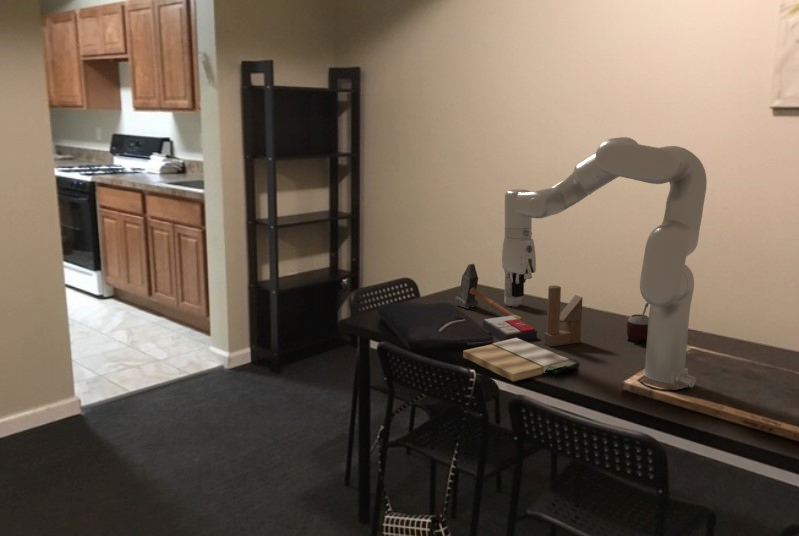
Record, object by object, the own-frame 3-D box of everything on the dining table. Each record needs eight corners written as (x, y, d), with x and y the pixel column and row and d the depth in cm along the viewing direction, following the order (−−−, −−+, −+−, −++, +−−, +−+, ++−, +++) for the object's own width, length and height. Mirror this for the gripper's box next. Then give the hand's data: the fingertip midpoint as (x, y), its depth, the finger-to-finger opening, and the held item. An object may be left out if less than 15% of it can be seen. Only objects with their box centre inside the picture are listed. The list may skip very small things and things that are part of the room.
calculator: (506, 333, 212) (482, 317, 226) (506, 346, 213) (481, 330, 227) (537, 328, 216) (512, 313, 230) (536, 341, 217) (511, 326, 231)
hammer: (518, 298, 226) (460, 262, 249) (509, 341, 233) (454, 303, 255) (531, 295, 230) (473, 260, 252) (522, 337, 236) (466, 300, 258)
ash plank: (568, 365, 193) (568, 358, 192) (543, 372, 188) (543, 365, 188) (516, 344, 211) (516, 337, 211) (492, 349, 207) (492, 343, 206)
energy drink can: (524, 305, 255) (525, 264, 251) (514, 308, 250) (515, 267, 247) (510, 302, 259) (511, 262, 255) (500, 305, 254) (501, 265, 251)
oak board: (542, 373, 188) (542, 366, 188) (513, 381, 183) (513, 374, 183) (490, 350, 206) (491, 344, 206) (463, 357, 201) (463, 350, 201)
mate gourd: (628, 337, 218) (631, 290, 214) (655, 341, 214) (658, 293, 211) (623, 344, 211) (626, 295, 208) (650, 348, 208) (654, 298, 204)
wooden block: (580, 342, 213) (583, 285, 209) (550, 347, 209) (552, 288, 205) (573, 339, 216) (576, 282, 212) (543, 343, 212) (545, 285, 209)
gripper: (546, 235, 195) (545, 299, 199) (511, 229, 208) (511, 289, 211) (525, 238, 191) (524, 303, 195) (491, 231, 204) (491, 293, 208)
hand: (517, 296), depth 203 cm, fingers closed
